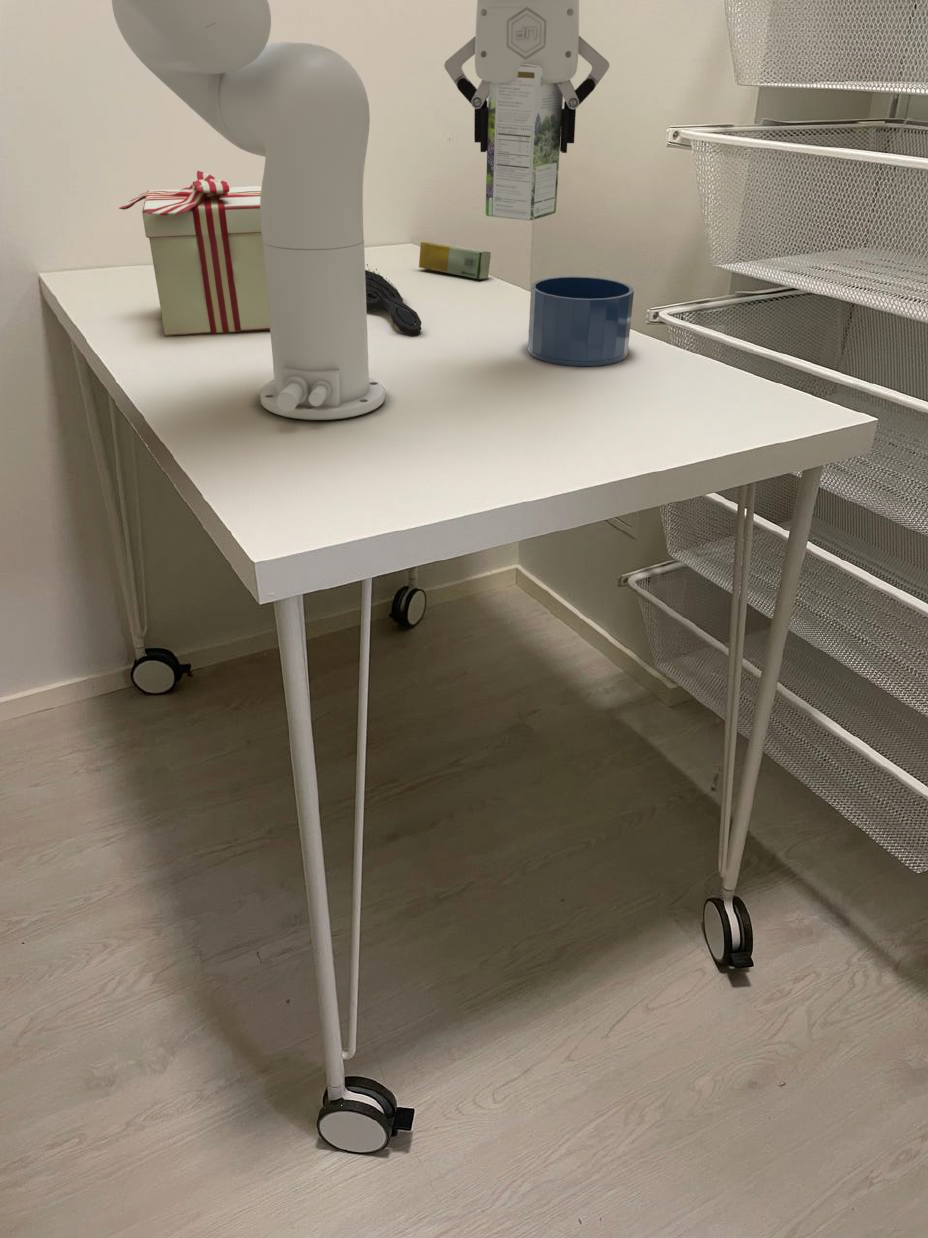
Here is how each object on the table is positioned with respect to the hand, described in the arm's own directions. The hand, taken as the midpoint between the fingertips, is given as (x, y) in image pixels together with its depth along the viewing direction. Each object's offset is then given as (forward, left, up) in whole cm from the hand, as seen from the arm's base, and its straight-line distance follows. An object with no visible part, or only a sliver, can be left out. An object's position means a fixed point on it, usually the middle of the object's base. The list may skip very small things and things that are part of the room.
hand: (524, 149), depth 102 cm
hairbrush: (+20, +19, -22) cm, 35 cm away
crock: (+5, -7, -22) cm, 24 cm away
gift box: (+11, +40, -22) cm, 47 cm away
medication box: (+45, +12, -22) cm, 52 cm away
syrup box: (0, 0, -7) cm, 7 cm away
